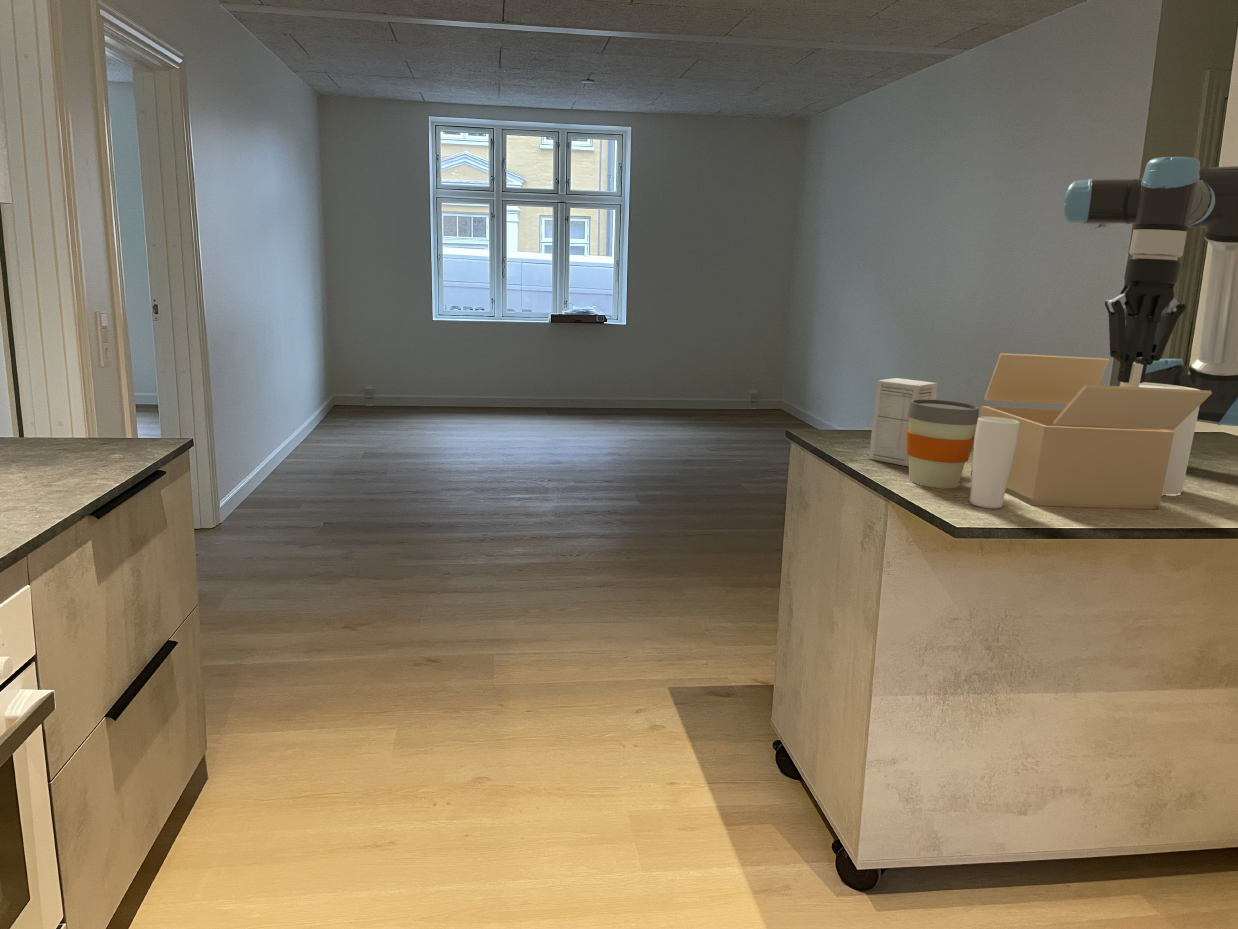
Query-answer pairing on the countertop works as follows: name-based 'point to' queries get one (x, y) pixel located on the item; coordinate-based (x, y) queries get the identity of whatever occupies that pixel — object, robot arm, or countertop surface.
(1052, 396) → the flap
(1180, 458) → the canister
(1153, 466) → the carton
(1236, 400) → the robot arm
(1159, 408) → the flap
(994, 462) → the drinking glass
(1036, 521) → the countertop surface
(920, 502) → the countertop surface
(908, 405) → the supplement box
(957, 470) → the reusable coffee cup
